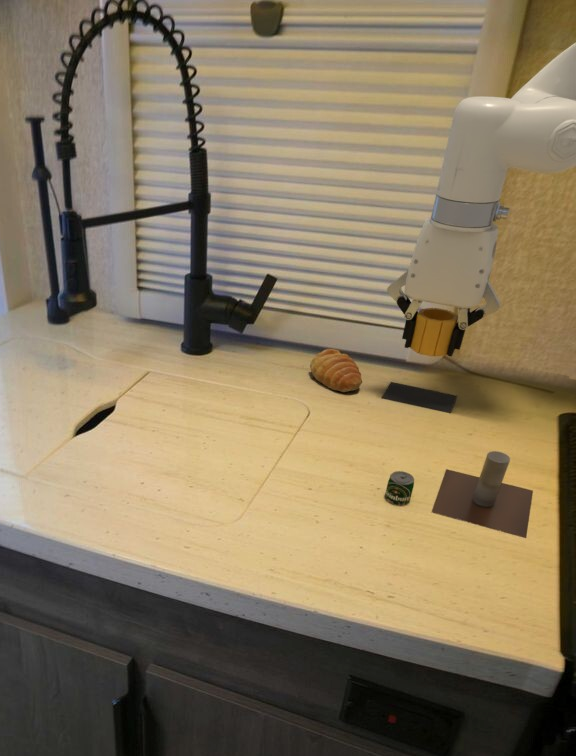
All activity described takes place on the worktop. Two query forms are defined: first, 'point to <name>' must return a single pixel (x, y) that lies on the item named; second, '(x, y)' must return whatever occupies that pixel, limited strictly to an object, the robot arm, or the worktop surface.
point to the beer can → (399, 488)
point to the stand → (485, 498)
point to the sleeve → (433, 331)
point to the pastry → (336, 370)
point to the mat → (420, 397)
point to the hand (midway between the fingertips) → (429, 347)
